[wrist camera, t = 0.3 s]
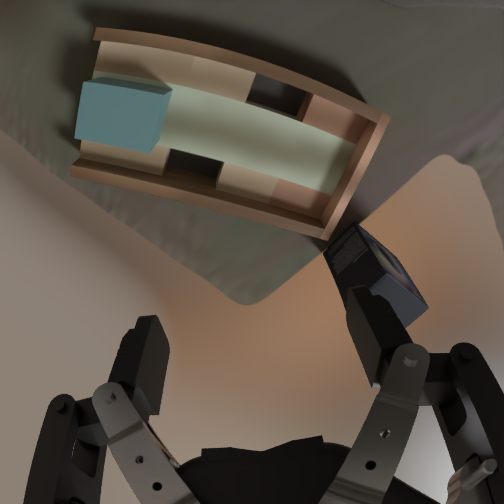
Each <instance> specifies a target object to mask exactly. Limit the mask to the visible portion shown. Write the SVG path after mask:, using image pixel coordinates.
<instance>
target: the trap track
mask: <svg viewBox="0 0 504 504" xmlns="http://www.w3.org/2000/svg"><path fill="white" fill-rule="evenodd" d="M93 40H97V41H101V44H100V48H99V51H98V55H97V59H96V63H95V68H94V72H93V76H92V79H95V78H99V77H106V78H113V79H120V80H126V81H132V82H138V83H143V84H149V85H154V86H159V87H163V88H168V89H173V91H172V94H171V98H170V101H169V105H168V108H167V112H166V116H165V120H164V124H163V127H162V131H161V135H160V140H159V141H158V143H157V144H156V145H155V147H154V148H153V149H152V151H151V152H150V153H144V152H140V151H135V150H131V149H126V148H121V147H116V146H112V145H107V144H102V143H96V142H91V141H86V140H82V141H81V149H80V158H79V159H78V160H77V161H75V162H74V163H73V164H72V165H71V175H70V176H71V177H76V178H81V179H85V180H90V181H94V182H99V183H103V184H108V185H112V186H117V187H121V188H125V189H130V190H134V191H138V192H142V193H147V194H151V195H155V196H159V197H163V198H167V199H172V200H176V201H180V202H184V203H188V204H192V205H196V206H200V207H204V208H208V209H212V210H216V211H220V212H223V213H227V214H231V215H235V216H239V217H243V218H246V219H250V220H254V221H258V222H261V223H265V224H269V225H273V226H276V227H280V228H284V229H287V230H291V231H294V232H298V233H302V234H305V235H309V236H312V237H316V238H319V239H323V240H326V241H328V240H329V238H330V236H331V234H332V233H333V231H334V229H335V227H336V225H337V223H338V222H339V220H340V218H341V216H342V214H343V212H344V210H345V209H346V207H347V205H348V203H349V201H350V199H351V197H352V195H353V193H354V191H355V190H356V188H357V186H358V184H359V182H360V180H361V178H362V176H363V174H364V172H365V170H366V168H367V166H368V164H369V162H370V160H371V158H372V156H373V154H374V152H375V150H376V148H377V146H378V144H379V142H380V140H381V138H382V135H383V133H384V131H385V129H386V127H387V125H388V123H389V121H390V119H391V117H390V116H388V115H386V114H384V113H383V112H381V111H379V110H377V109H375V108H373V107H371V106H369V105H367V104H365V103H363V102H361V101H359V100H357V99H355V98H353V97H351V96H349V95H347V94H345V93H343V92H341V91H339V90H336V89H334V88H332V87H330V86H327V85H325V84H323V83H321V82H318V81H316V80H313V79H311V78H309V77H306V76H304V75H301V74H298V73H296V72H293V71H291V70H288V69H285V68H283V67H280V66H277V65H274V64H271V63H268V62H265V61H262V60H259V59H256V58H253V57H250V56H247V55H243V54H240V53H237V52H233V51H230V50H226V49H222V48H219V47H215V46H211V45H207V44H202V43H198V42H194V41H189V40H184V39H180V38H175V37H169V36H164V35H158V34H152V33H145V32H138V31H130V30H121V29H111V28H98V27H96V30H95V34H94V37H93Z"/></svg>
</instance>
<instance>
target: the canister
mask: <svg viewBox="0 0 504 504" xmlns="http://www.w3.org/2000/svg"><path fill="white" fill-rule="evenodd" d="M383 1H385V2H387V3H390V4H392V5H394V6H401V7H408V8H410V7H426V6H472V7H488V8H499V9H504V0H383Z"/></svg>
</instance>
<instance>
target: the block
mask: <svg viewBox="0 0 504 504" xmlns="http://www.w3.org/2000/svg"><path fill="white" fill-rule="evenodd" d="M172 91H173V89H168V88H163V87H159V86H154V85H149V84H143V83H138V82H132V81H126V80H120V79H113V78H106V77H99V78H95V79H92V80H88V81H84V82H83V87H82V92H81V97H80V103H79V109H78V116H77V122H76V130H75V139H80V140H86V141H91V142H96V143H102V144H107V145H112V146H116V147H121V148H126V149H131V150H135V151H140V152H144V153H150V152H151V151H152V149H153V148H154V147H155V145H156V144H157V143H158V141H159V140H160V135H161V131H162V127H163V124H164V120H165V116H166V112H167V108H168V105H169V101H170V98H171V94H172Z"/></svg>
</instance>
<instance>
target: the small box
mask: <svg viewBox="0 0 504 504" xmlns="http://www.w3.org/2000/svg"><path fill="white" fill-rule="evenodd" d="M323 256H324V258H325V260H326V262H327V264H328V266H329V268H330V270H331V273H332V275H333V278H334V280H335V283H336V285H337V287H338V290H339V293H340V295H341V298H342V300H343V303H344V307H345V310H347V292H348V288H351V287H356V286H361V285H367V287H368V288H369V290H370V292H371V293H372V295H373V296H374V295H381V296H382V297H384V298H385V299H386V300H388V301H389V303H390V304H391V306H392V308H393V309H394V311H395V313H396V314H397V316H398V318H399V319H400V321H401V323H402V324H403V326H404V328H407V327H408V326H409V325H410V324H411V323H412V322H414V321H415V320H416V319H417V318H418V317H419V316H421V315H422V314H423V313H424V312H425V311H426V310H427V309H428V308H429V307H428V305H427V304H426V302H425V300H424V299H423V297H422V295H421V294H420V292H419V291H418V289H417V287H416V286H415V284H414V283H413V281H412V280H411V278H410V276H409V275H408V273H407V272H406V270H405V269H404V267H403V266H402V264H401V263H400V261H399V260H398V259H397V257H396V256H394V255H393V254H392V253H391V252H390V251H389V250H388V249H387V248H385V247H384V246H383V245H382V244H381V243H380V242H379V241H377V240H376V239H375V238H374V237H373V236H372V235H370V234H369V233H368V232H367V231H366V230H364V229H363V228H362V227H361V226H360V225H358V224H357V223H356V222H354V223H352V224H351V225H350V226H349V227H348V228H347V229H346V230H345V231H344V232H343V233H342V234H341V235H340V236H339V237H338V238H337V239H336V240H335V241H334V242H333V244H331V246H329V247H328V248H327V250H326V251H324V253H323Z"/></svg>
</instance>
